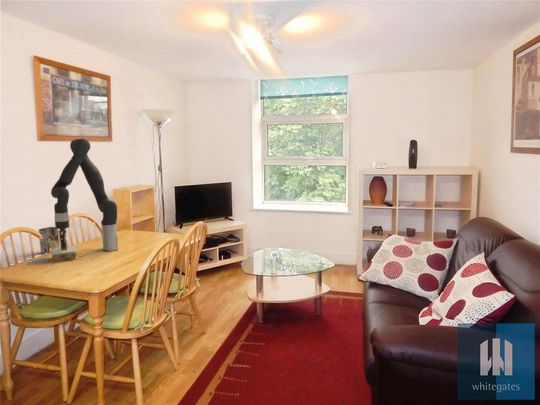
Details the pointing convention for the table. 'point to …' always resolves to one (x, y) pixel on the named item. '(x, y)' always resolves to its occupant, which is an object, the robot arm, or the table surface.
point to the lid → (64, 250)
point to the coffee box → (49, 239)
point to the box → (64, 257)
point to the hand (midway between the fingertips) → (63, 246)
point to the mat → (37, 261)
